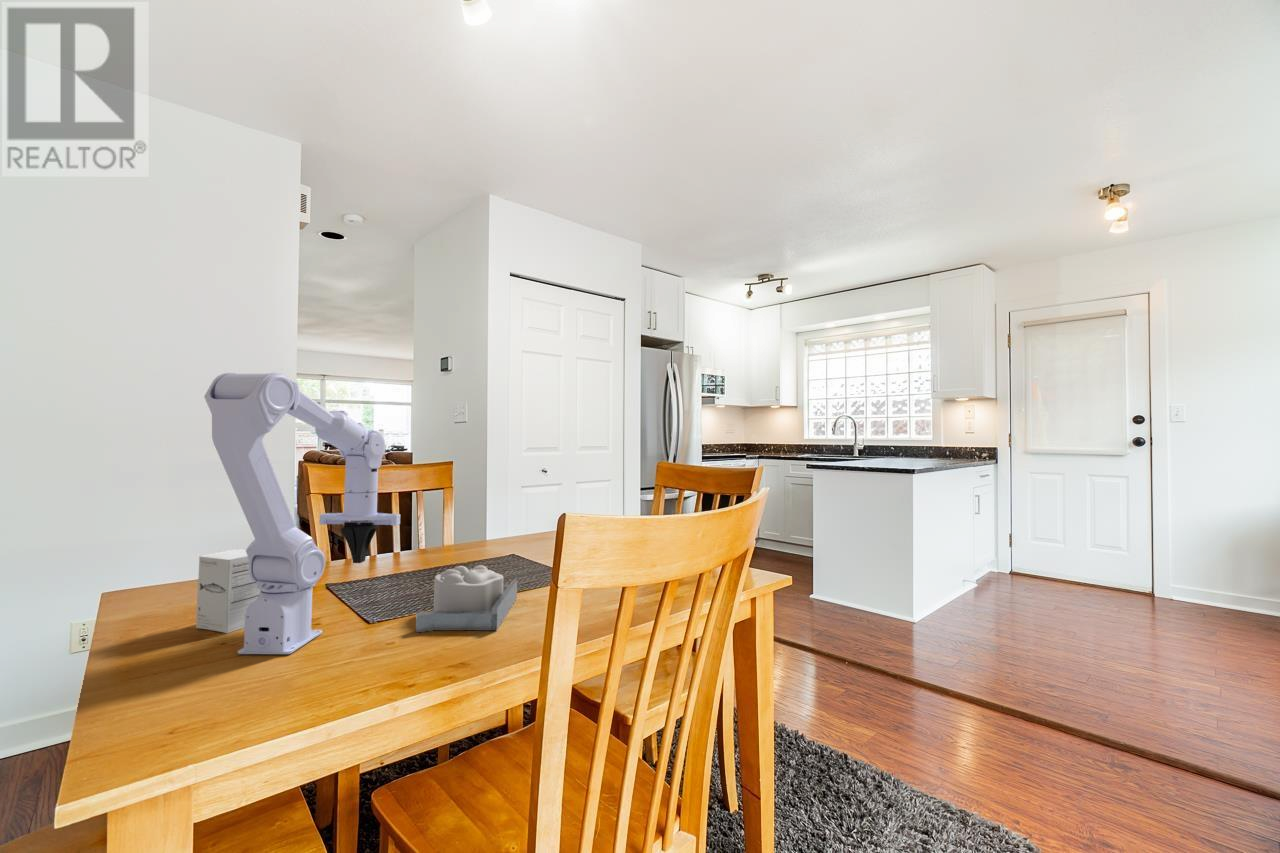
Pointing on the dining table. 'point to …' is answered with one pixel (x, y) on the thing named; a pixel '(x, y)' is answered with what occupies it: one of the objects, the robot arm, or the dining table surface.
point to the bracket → (469, 615)
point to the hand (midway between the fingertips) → (358, 562)
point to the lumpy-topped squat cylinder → (467, 589)
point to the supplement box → (224, 591)
